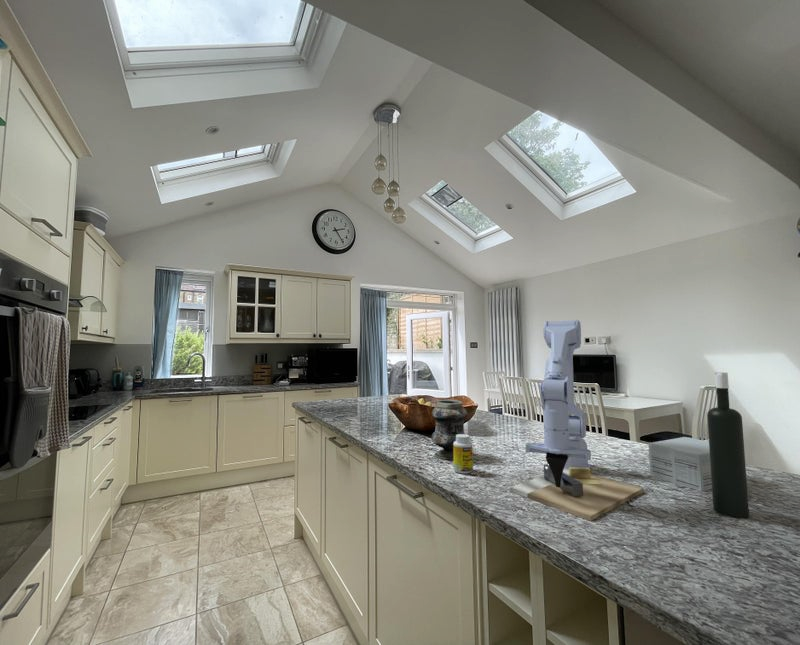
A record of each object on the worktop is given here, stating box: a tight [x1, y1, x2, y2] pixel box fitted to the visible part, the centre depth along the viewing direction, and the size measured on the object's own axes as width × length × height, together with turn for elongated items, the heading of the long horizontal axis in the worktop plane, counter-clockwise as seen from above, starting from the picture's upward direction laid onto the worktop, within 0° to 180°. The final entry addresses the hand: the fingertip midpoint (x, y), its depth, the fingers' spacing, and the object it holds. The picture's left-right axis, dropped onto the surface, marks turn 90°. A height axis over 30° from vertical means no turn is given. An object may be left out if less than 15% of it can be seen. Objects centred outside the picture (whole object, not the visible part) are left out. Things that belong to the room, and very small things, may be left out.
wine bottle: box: [706, 371, 750, 520], centre depth 81 cm, size 6×6×30 cm
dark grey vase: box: [431, 399, 468, 461], centre depth 125 cm, size 12×12×18 cm
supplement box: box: [647, 436, 712, 492], centre depth 101 cm, size 17×13×9 cm
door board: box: [509, 467, 645, 522], centre depth 92 cm, size 26×20×4 cm
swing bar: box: [543, 463, 583, 497], centre depth 93 cm, size 14×3×4 cm, turn 8°
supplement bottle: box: [453, 433, 474, 475], centre depth 108 cm, size 6×6×10 cm
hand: (558, 486), depth 89 cm, fingers closed
